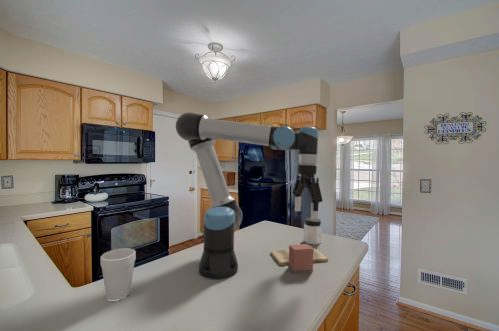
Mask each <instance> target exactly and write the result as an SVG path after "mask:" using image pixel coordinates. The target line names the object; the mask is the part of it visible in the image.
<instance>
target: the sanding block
mask: <svg viewBox="0 0 499 331" xmlns="http://www.w3.org/2000/svg"><path fill="white" fill-rule="evenodd" d="M313 248H314V247H312V246H311V245H309V244H308V243H304V244H303V243H302V244H299V243H298V244H289V246H288V250H289V265H288V268H289V269H290V271H291V272H292V273H293V274H299V273H300V274H301V273H309V272H314V262H313Z"/></svg>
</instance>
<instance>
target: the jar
mask: <svg viewBox="0 0 499 331" xmlns="http://www.w3.org/2000/svg"><path fill="white" fill-rule="evenodd" d="M310 218H311V217H306V218H305V219H304V223H303V241H304V243H305V244H308V245H309V244H310V245H314V246H315V245H316V246H317V245H319V244H321V243H322V221H321V219H320V218H318V219H310Z"/></svg>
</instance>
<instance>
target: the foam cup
mask: <svg viewBox="0 0 499 331" xmlns="http://www.w3.org/2000/svg"><path fill="white" fill-rule="evenodd" d="M136 254H137V251H136V250H135V249H134V248H128V247H122V248H115V249H112V250H109V251H106V252H104V253H102V255H101V256H100V267H101V270H102V277H103V284H104V290H105V291H104V292H105V297H106V300H107V299H109V300H117V299H121V298H124V297H126V296H127V295H129V296H130V294H131V289H132V282H133V275H134V268H135V262H136V259H137V255H136ZM129 293H130V294H129ZM126 298H127V297H126Z"/></svg>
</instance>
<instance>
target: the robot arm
mask: <svg viewBox="0 0 499 331" xmlns="http://www.w3.org/2000/svg"><path fill="white" fill-rule="evenodd" d="M175 131H176V133H177V134H178V136H179V137H180V138H181V139H183V140H185V141H187V142H188V145H189V149H190V150H191V151H193V152H194V153H195V154H196V157H197V160H198V163H199V167H200V169H201V172H202V173H201V174H202V175H203V180H204V181H205V184H206V188H207V191H208V194H209V196H210V200H211V205H210V208H209V209H207V210H206V211H205V213H204V217H203V251H202V254H201V256H200V257H201V258H200V261H199V262H198V273H199V275H200V276H202V277H204V278H206V279H209V280H223V279H224V280H225V279H227V278H230V277H232V276H235V275H236V274H237V272H238V270H239V262H238V259H237V256H236V252H235V245H234V244H235V232H236V231H237V230H238V229H239V228H240V227H241V225H242V222H243V219H244V218H243V217H244V216H243V211H242V209H241V207H240V206H239V205H238V204H237V200H236V199H235V197H233V196H232V195H231V194H230V191H229V188H228V185H227V181H226V179H225V176H224V173H223V170H222V167H221V164H220V160H219V159H218V158H219V157H218V155H217V152H216V149H215V144H216V140H221V141H230V142H235V143H243V144H244V143H245V144H251V145H258V146H266V147H270V148H271V150H277V151H298V162H297V163H298V166H297V173H298V174H297V175H296V179H295V183H294V187H293V190H292V195H293V196H294V212H302V211H301V209H302V193H304V192H303V191H304V189H305V188H306V189H307V190H308V192H309V196H310V198H311V202H310V217H309V218H310V219H319V218H318V217H319V203H322V202H323V197H322V192H321V187H320V183H319V180H320V179H319V177H318V176H317V177H316V176H315V177H314V175H316V174H317V170H318V169H317V168H318V167H317V164H318V163H317V162H318V147H319V145H318V144H319V143H318V141H319V136H318V135H319V131H318V128H317V127H314V126H313V127H312V126H304V127H300V128H299V131H297V132H296V131H295V132H294V130H293V129H292V128H290V127H289V126H286V125H283V126H274V125H267V124H264V125H263V124H258V123H252V122H251V123H249V122H241V121H233V120H227V119H226V120H225V119H216V118H210V117H208V116H207V114H199V113H195V112H184V113H182V114H181V115H179V116H178V118H177V119H176V121H175Z"/></svg>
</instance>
